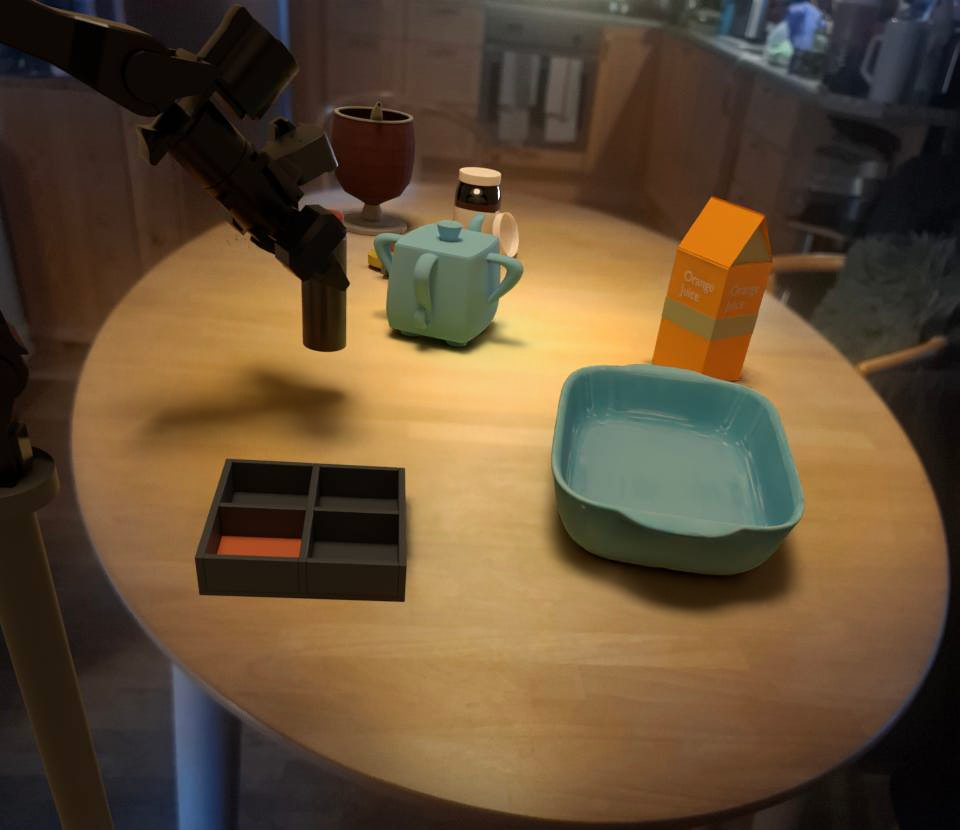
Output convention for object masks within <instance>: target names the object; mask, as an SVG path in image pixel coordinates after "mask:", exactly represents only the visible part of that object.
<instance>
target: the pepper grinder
mask: <svg viewBox="0 0 960 830" xmlns="http://www.w3.org/2000/svg"><path fill="white" fill-rule="evenodd" d="M326 209H327V210H328V211H330V212H332V213H333V214H335V216H336V217H337V218H338V219H339V220H340V221H341V222H342V223H343V225H344V215H343V214H344V213H342V212H340V211H338V210H334V209H330V208H326ZM347 239H348V237H347V235H346V236H345V237H344V238H343V240H342V241H341V242H340V243H339V244H338V246H337V247H336V248H335V249H334V250H333V252H334V254H335V256H336V258H337V259H338V261H339V263H340V265H341V267H342V269H343V271H344V273H345V274H346V276H347V275H348V274H347V273H348V271H347V270H348V266H347V265H348V264H347V263H348V240H347ZM347 277H348V276H347ZM300 289H301V293H300V294H301V326H302V327H301V328H302V329H301V330H302V331H301V332H302V345H303V346H304V347H305V348H306V349H308V350H311V351H314V352H320V353H335V352H339V351H342V350H344V349H345V348H346V347H347V298H348V297H347V296H348V295H347V293H348V292H347V289H348V288H347V289H346V290H345V291H344V292H343V291H340V290H337V289H335V288H332V287H330V286H327V285H324V284H322V283H319V282H316V281H313V280H311V279H309V280H307V281H305V282H302V281H301V280H300Z"/></svg>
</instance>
